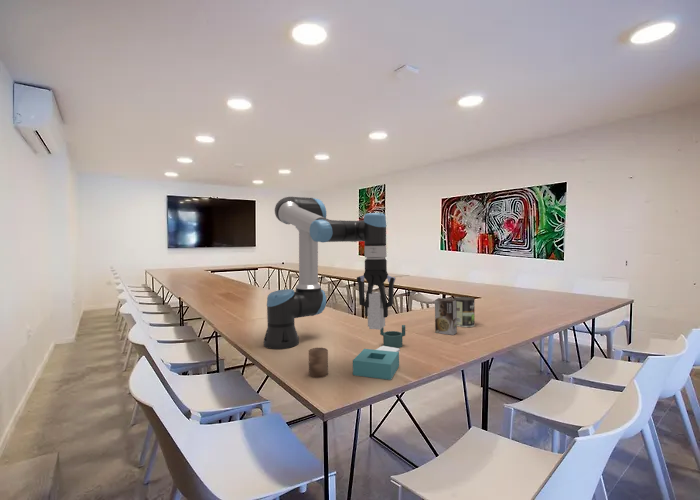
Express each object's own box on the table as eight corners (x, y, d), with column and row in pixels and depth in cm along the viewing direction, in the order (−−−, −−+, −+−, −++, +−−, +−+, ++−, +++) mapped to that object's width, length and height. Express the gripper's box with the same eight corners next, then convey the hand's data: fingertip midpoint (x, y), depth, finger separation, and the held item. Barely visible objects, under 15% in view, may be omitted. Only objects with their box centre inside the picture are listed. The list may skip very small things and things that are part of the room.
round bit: (305, 376, 115) (305, 352, 115) (314, 369, 121) (313, 346, 121) (323, 378, 113) (322, 354, 113) (331, 371, 119) (330, 348, 119)
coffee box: (457, 332, 167) (457, 299, 166) (453, 335, 161) (453, 301, 161) (438, 329, 172) (438, 297, 171) (434, 332, 166) (434, 299, 166)
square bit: (369, 328, 118) (368, 293, 117) (372, 326, 121) (372, 292, 121) (380, 329, 116) (380, 294, 116) (383, 326, 120) (383, 292, 120)
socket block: (352, 375, 115) (352, 360, 115) (364, 362, 128) (364, 348, 128) (391, 379, 111) (390, 364, 111) (399, 365, 123) (399, 352, 123)
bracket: (407, 346, 146) (407, 325, 146) (390, 349, 142) (389, 328, 141) (394, 341, 154) (394, 321, 154) (377, 344, 149) (377, 323, 149)
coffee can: (476, 324, 182) (476, 297, 182) (472, 328, 174) (471, 300, 173) (457, 321, 188) (457, 296, 188) (451, 325, 179) (451, 298, 179)
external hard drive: (400, 352, 140) (386, 361, 130) (381, 349, 144) (367, 357, 134) (400, 348, 140) (386, 357, 129) (381, 345, 144) (367, 353, 134)
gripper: (348, 258, 118) (349, 327, 118) (397, 259, 112) (398, 330, 112) (355, 257, 125) (356, 322, 125) (402, 257, 119) (403, 325, 119)
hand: (376, 326), depth 119 cm, fingers closed on square bit, 4 cm apart
